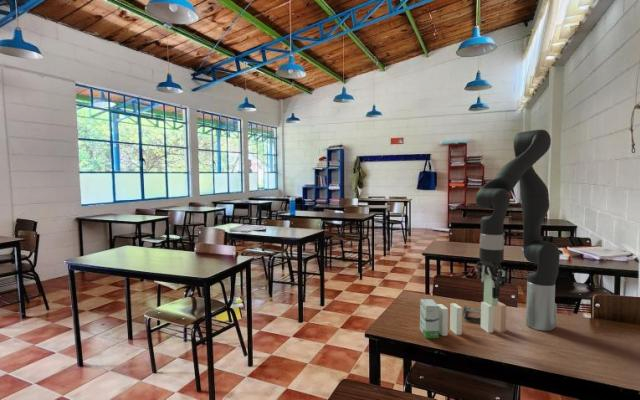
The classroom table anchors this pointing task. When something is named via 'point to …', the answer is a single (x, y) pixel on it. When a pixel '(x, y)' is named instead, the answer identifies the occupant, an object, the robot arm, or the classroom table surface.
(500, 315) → the domino end
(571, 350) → the classroom table surface
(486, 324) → the domino
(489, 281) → the domino
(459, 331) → the domino
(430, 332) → the ink box
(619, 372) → the classroom table surface
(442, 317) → the domino
